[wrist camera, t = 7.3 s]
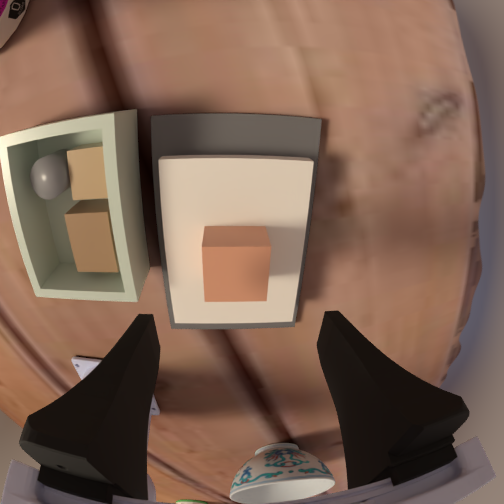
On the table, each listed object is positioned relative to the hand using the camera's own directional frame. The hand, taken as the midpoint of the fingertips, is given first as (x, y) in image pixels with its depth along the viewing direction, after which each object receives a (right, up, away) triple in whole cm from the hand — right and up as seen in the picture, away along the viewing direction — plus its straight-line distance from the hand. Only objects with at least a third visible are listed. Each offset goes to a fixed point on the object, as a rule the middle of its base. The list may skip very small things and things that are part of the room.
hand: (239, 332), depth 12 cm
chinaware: (+4, -27, +26) cm, 38 cm away
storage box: (-11, +7, +6) cm, 14 cm away
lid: (-1, +4, +7) cm, 9 cm away
